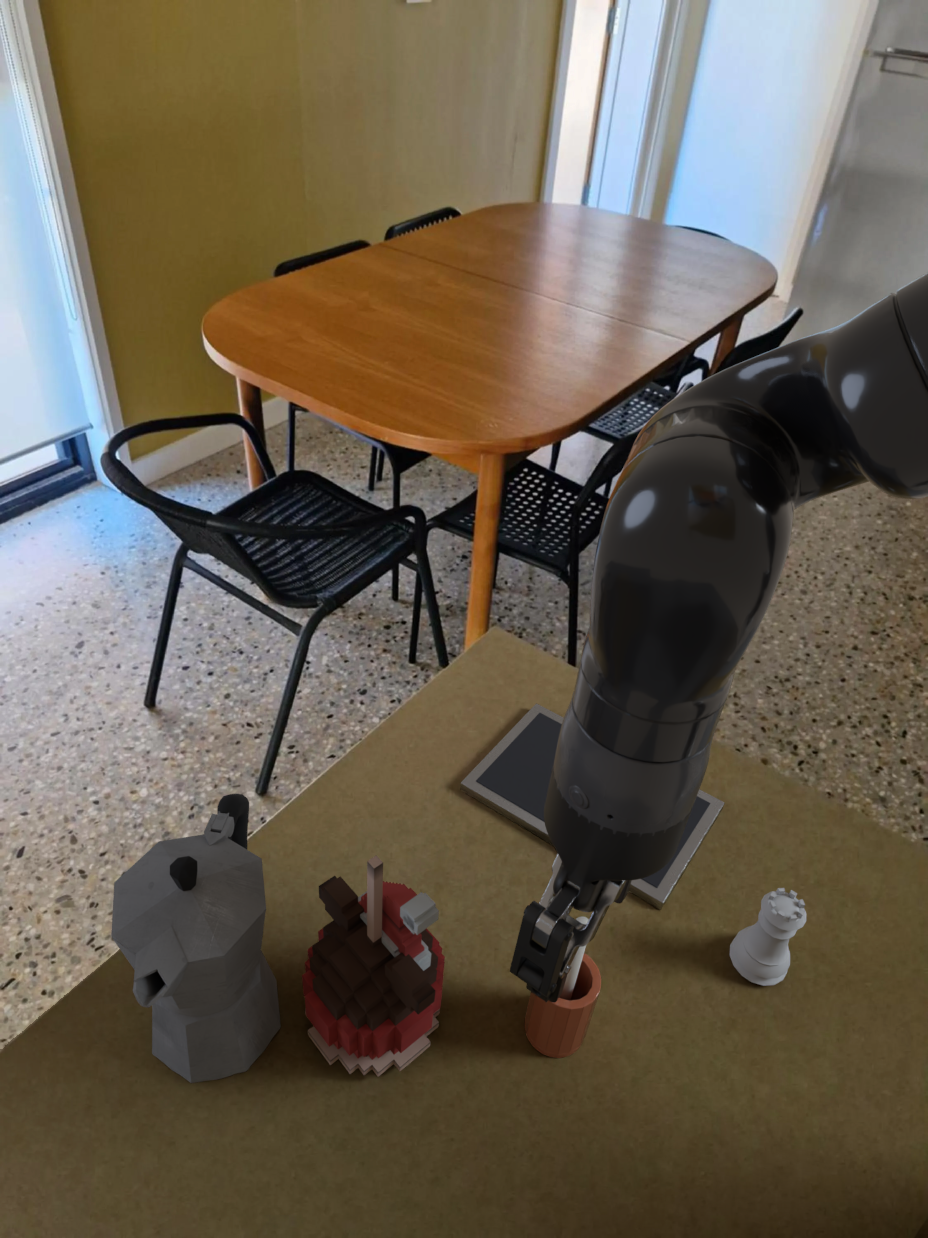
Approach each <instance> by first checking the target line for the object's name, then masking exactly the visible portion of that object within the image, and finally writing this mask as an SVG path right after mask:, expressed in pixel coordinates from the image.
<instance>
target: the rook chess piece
mask: <svg viewBox="0 0 928 1238" xmlns="http://www.w3.org/2000/svg"><path fill="white" fill-rule="evenodd" d="M797 895H798V892H796V891H794V890H793V889H790V891H789V892H787V891H786V889H785V887H778V888H777V889H776V890H773V891H769V892H768V893H766V894H764V895H763V897H762V899H761V900H760V910H759V912H758V914H757V915H758V917H757V918H758V919H757V921H756V922H755V923H754V924H752V925H748V926H746V927H743V929H741V930H739V931H738V932H737V934H736V935H735V937H734V938H733V940H732V941H731V943H730V945H729V957H730V960H731V963H732V966H733V967H734V968H735V970H736V971H737V972H738V973H739V974H740V976H741V977H743V978H744V979H746V980H747V981H748V982H751V983H753V984H757V985H760V986H763V987H765V986H775V985H777V984H779V983H780V982H783V981H784V979H785V978H786V976H787V973H788V970H789V968H790V967H791V951H790V949H789V948H790V947H789V942H790V939H792V938H793V937H795V935H796V933H797V931H798V930H800V929H802V928H803V927H804V926H805V925H806V923H807V911H806V909H805V906H806V903H805V901H804V899H803V898H801V899H798V898H797Z"/></svg>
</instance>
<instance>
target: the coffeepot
mask: <svg viewBox="0 0 928 1238" xmlns="http://www.w3.org/2000/svg"><path fill="white" fill-rule="evenodd" d="M249 801H250V800H249V799H248V797H246V795H244V794H242V793H230V794H225V795H223V796H222V797H221V799H220V800H219V801H218V804H217V809H216V810H217V814H216V813H211V814H210V815H211V816H210V817H209V819H208V822H207V824H206V826H205V828H204V831H203V834H197V835H190V836H184V837H178V838H171V839H166V840H160V841H159V840H158V841H157V843H155V844H154V845H153V846H152V847H151V848H150V849H149V850H147V852H146V853H144V854H143V855H142V856H141V857H140V858H139V859H138V860H137V861H136V862H135V863H134V864H133V865H131V866H130V867H129V868H128V869H127V870H126V871H125V872H124V873H123V874H122V875H120V877H118V879H117V880H115V881H114V883H113V897H112V916H111V917H112V918H111V932H110V933H111V935H110V936H111V939H112V940H113V941H114V943H115V944H116V946H117V947H118V948H119V950H120V951H121V953H122V954H123V955H124V957H125V959H126V960H127V961H128V963H129V965H130V966H131V967H132V969H133V970H134V974H133V986H132V993H133V995H134V998H135V1000H136V1002H137V1003H138V1005H140V1006H141V1007H142V1008H146V1009H147V1008H151V1009H152V1010H151V1011H152V1012H151V1015H152V1016H151V1021H152V1022H151V1054H152V1055H153V1056H154V1057H155V1058H157V1059H158V1060H159V1061H160V1062H162V1063H163V1064H164V1065H165V1066H167V1068H168V1069H170V1071H172V1072H174V1073H176V1074H178V1075H179V1076H181V1077H182V1078H184V1079H185V1080H186V1081H187V1082H189V1083H190V1084H195V1083H201V1082H208V1081H209V1082H210V1081H216V1080H221V1079H226V1078H229V1077H231V1076H233V1075H236V1074H240V1073H241V1074H242V1073H245V1072H247V1071H248V1070H249V1069H250V1068H251V1066H252V1065H253V1064H254V1063H255V1061H256V1060H257V1059H258V1058H259V1057H260V1056H261V1055H262V1054H263V1053H264V1052H265V1051H266V1049H267V1048H268V1046H269V1045H270V1043H271V1041H272V1040H273V1038H274V1037H275V1036H276V1034H277V1033H278V1032H279V1030H280V1029H281V1027H282V1026H281V1024H282V1023H281V1015H280V1005H279V994H278V984H277V983H278V982H277V979H276V977H275V975H274V972H273V970H272V968H271V967H270V965H269V963H268V961H267V959H266V957H265V955H264V953H263V951H262V945H263V938H264V928H265V922H266V921H265V920H266V913H267V904H266V903H267V900H266V891H265V879H264V869H263V859H262V857H260V856H258V855H257V854H255V853H254V852H252V851H250V850H248V831H249V830H248V829H249V816H250V815H249V814H250V802H249Z"/></svg>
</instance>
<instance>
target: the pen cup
mask: <svg viewBox="0 0 928 1238" xmlns="http://www.w3.org/2000/svg"><path fill="white" fill-rule="evenodd" d="M601 987H602V976H601V972H600V969H599V967H598V965H597V964H596V963H595V961H594V960H593V958H592V957H591V956H590V955H589V954H587V953H585V952H584V955H583V958H582V962H581V965H580V969H579V972H578V976H577V979H576V983H575V986H574V990H573V993H572V997H571V1000H570V1001H569V1000H565V999H561V998H558V1000H557V1001H556V1002H550V1001H549V1000H548V1001H547V1002H545V1001H544V1000H542V999H541V998H539V997H538V996H536V995H535V994H534V993H532V992H531V991H529V992H530V993H529V997H528V1001H527V1005H526V1010H525V1016H524V1020H523V1021H524V1022H523V1027H524V1032H525V1036H526V1038H527V1040H528V1041H529V1043H530V1044H531V1046H532V1047H533V1048H534V1049H535V1050H536V1051H538V1052H539V1053H540V1054H541V1055H544V1056H547V1057H549V1058H556V1059H557V1058H558V1059H560V1058H566V1057H569V1056H572V1055H573V1054H574V1053H576V1052H577V1051H578V1050H579V1049H580V1048H581V1046H582V1045H583V1043H584V1041H585V1039H586V1036H587V1033H588V1030H589V1027H590V1023H591V1021H592V1018H593V1014H594V1011H595V1008H596V1005H597V1002H598V999H599V996H600V993H601Z"/></svg>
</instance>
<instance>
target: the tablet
mask: <svg viewBox="0 0 928 1238" xmlns="http://www.w3.org/2000/svg"><path fill="white" fill-rule="evenodd" d="M563 719H564V716H562V715H560V714H558V713H556V712H554V711H552V710H550V709H548V708H547V707H545V706H542V705H541V704H539V703H535V704H534V705H533V706H532V707H531V708H530V709H529V710H528V711H527V712H526V714H524V715H523V716H522V718H521V719H520V720H519V721H518V722H516V724H515V725H514V726H513V727H512V728H511V729H510V730H509V731H508V732H507V733H506V734H505V736H504V737H503V738H501V740H500V741H499V742H497V744H496V745H495V746H493V748H492V749H491V750H490V751H489V752H488V753H487V754H486V755H485V756H484V757H483V759H481V761H479V763H478V764H477V765H476V766H475V767H473V769H472V770H471V771H470V772H469V773H468V774H467V775H466V776H465V778H463V780H462V781H461V782H460V785H459V786H460V787H459V790H460V791H461V792H463V793H465V794H466V795H468V796H470V797H471V798H473V799H475V800H477V801H478V802H479V803H482V804H483V805H484V806H486V807H488V808H490V809H491V810H493V811H494V812H497V813H498V814H500V815H501V816H503V817H504V818H506V819H508V820H510V821H512V822H513V823H515V824H516V825H518V826H520V827H522V828H523V829H524V830H527V831H528V832H530V833H531V834H533V835H534V836H535V837H536V836H537V837H538V838H540V839H541V840H543V841H545V842H546V843H548V844H549V845H551V846H553V847H554V845H553V843H552V841H551V840H550V837H549V835H548V833H547V830H546V827H545V822H544V806H545V801H546V796H547V791H548V787H549V782H550V777H551V772H552V767H553V762H554V758H555V753H556V748H557V743H558V739H559V734H560V729H561V725H562V722H563ZM724 806H725V802H724V801H723V800H721V799H719V798H717V797H715V796H714V795H712V794H709V793H707V792H706V791H703V790H702V789H701V788H700V789H699V792H698V794H697V797H696V800H695V802H694V805H693V808H692V810H691V813H690V816H689V818H688V821H687V824H686V826H685V829H684V832H683V834H682V837H681V840H680V842H679V845H678V848H677V850H676V852H675V854H674V856H673V857H672V859H671V860H670V861H669V863H668V864H667V865H666V866H664V867H663V868H662V869H661V870H659V871H658V872H656V873H654V874H652V875H650V876H648V877H645V878H641V879H637V880H632V881H631V884H630V887H629V890H628V892H630V893H632V894H633V895H635V896H637V897H638V898H639V899H642V900H643V901H645V902H646V903H648V904H649V905H651V906H653V907H655V908H657V909H658V910H662V909H663V907H664V905H665V904H666V903H667V901H668V899H669V898H670V895H671V894H672V892H673V891H674V889H675V887H676V886H677V884H678V882H679V881H680V880H681V877H682V876H683V875H684V872H685V871H686V870H687V868H688V867H689V864H690V863H691V861H692V860H693V858H694V857H695V855H696V853H697V851H698V850H699V848H700V847H701V845H702V843H703V842H704V840H705V839H706V837H707V835H708V834H709V832H710V830H711V829H712V827H713V825H714V824H715V822H716V821H717V819H718V818H719V815H720V814H721V812H722V811H723V809H724Z"/></svg>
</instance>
